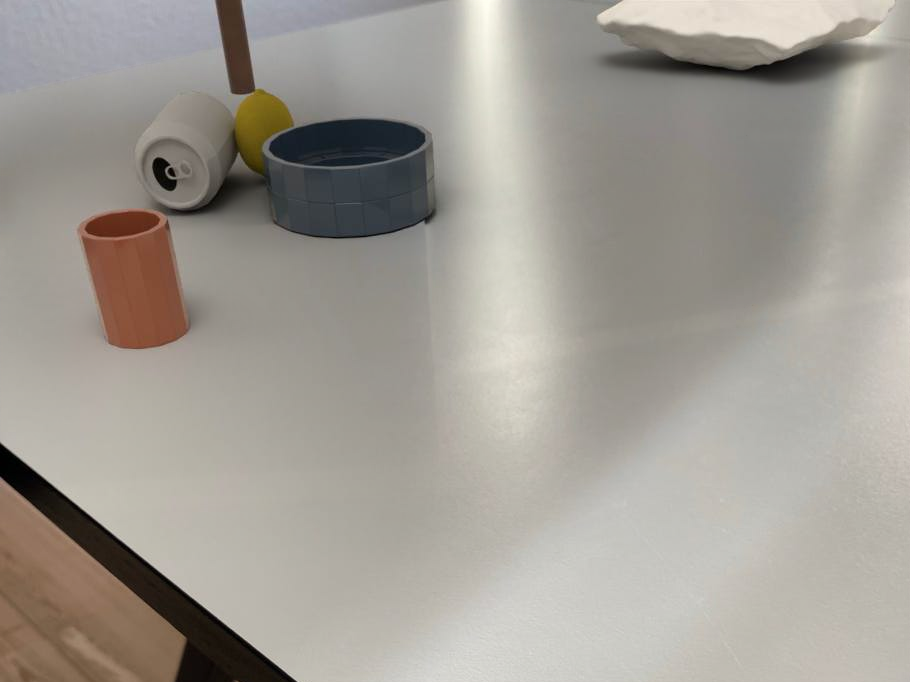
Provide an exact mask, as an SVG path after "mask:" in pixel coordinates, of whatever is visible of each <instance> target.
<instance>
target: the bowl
mask: <svg viewBox="0 0 910 682" xmlns="http://www.w3.org/2000/svg"><path fill="white" fill-rule="evenodd" d="M433 139H434V138H433V134H432V132H430V131H429V130H428V129H427V128H426V127H424V126H422V125H419V124H416V123H413V122H411V121H409V120H408V121H407V120H401V119H395V118H389V117H372V116H357V117H356V116H355V117H354V116H353V117H337V118H329V119H321V120H316V121H315V120H314V121H310V122H307V123H302V124H297V125H295V126H293V127H290V128H288V129H286V130H283V131H281V132H278V133H276V134H274V135H272V136H271V137H270V138H268V139H267V140H266V141H264V144H263V147H262V150H261V151H262V157H263V164H264V171H265V177H266V178H265V177H264V178H265V183H266V191H267V196H268V204H269V209H270V216H271V218H272V219H273V220H274V221H275V223H276V224H277V225H279V226H281V227H283V228H284V229H287V230H289V231H291V232H296V233H301V234H304V235H310V236H313V237H314V236H316V237H329V238H330V237H332V238H343V237H363V236H371V235H372V236H373V235H377V234H382V233H383V234H384V233H389V232H390V233H391V232H393V231H396V230H399V229H403V228H406V227H410V226H412V225H416V224H417V223H418V222H420V221H422V220H424V219H426V218H427V217H429V216H430V215H431V214H432V213H433V212H434V211H435V209H436V207H437V198H436V197H437V195H436V194H437V193H436V176H435V160H434V159H435V157H434V140H433Z"/></svg>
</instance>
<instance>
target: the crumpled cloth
mask: <svg viewBox="0 0 910 682" xmlns="http://www.w3.org/2000/svg"><path fill="white" fill-rule="evenodd" d="M896 2H897V0H621V1H620V2H618V3H617V4H615V5H613V6H612V7H610V8H607V9H606V10H604V11H602V12H600V13H599V14H597V17H596V25H597V26H598V27H599V29H600V30H601V31H602V32H604V33H607V34H613V35H616V36H618V37H619V39H620V42H621V43H622V44H623V45H626V46H629V47H635V48H638V49H639V50H644V51H655V52H658V53H661V54H664V55H665V56H667V57H669V58H671V59H673V60H675V61H679V62H688V63H693V64H696V65H703V66H704V65H705V66H710V67H713V68H714V67H715V68H723V69H726V70H732V71H745V70H749V69H752V68H754V67H755V66H761V65H771V64H773V63H775V62H777V61H784V60H787V59H789V58H793V57H794V56H799V55H800V54H802V53H804V52H807V51H810V50H813V49H817V48H818V47H820V46H825V45H828V44H829V45H830V44H833V43H840V42H843V41H848V40H853V39H856V38H860V37H861V38H862V37H865V36H868V35H869V34H870V33H872V32H874V30H875V29H877V28H878V27H879V26H880V25H882V24H883V23H884V22H885V21H886V20H887V18H888V16H889V13H891V12H892V10H893V9H894V7H895V4H896Z"/></svg>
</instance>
